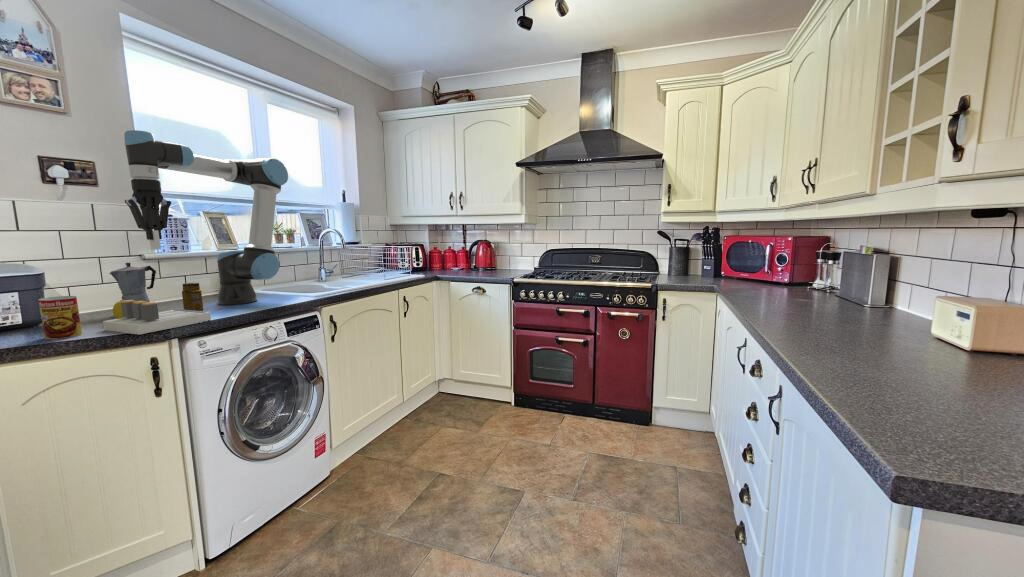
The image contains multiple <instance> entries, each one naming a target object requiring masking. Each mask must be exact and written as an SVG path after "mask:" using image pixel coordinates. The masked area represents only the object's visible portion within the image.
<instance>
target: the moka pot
mask: <svg viewBox="0 0 1024 577" xmlns="http://www.w3.org/2000/svg"><path fill="white" fill-rule="evenodd" d="M131 263H132V262H125V263H124V264H125V266H126V267H121V268H118V269H115V270H111V271H110V272H108V274H109V275H111V276H112V277H113V279H114V280H115V281H116V282H117V285H118V288H119V290H120V292H121V300H124V301H125V300H135V301H146V302H151V301H150V298H149V295H148V293H147V290H151V289H154V285H155V278H156V273H157V270H156V269H155V268H153V267H152V266H150V265H146V266H141V267H137V266H131V265H132V264H131ZM148 271H151V277H150V278H151V279H150V284H149V286H147V284H146V281H147V280H146V272H148Z"/></svg>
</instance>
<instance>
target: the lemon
mask: <svg viewBox="0 0 1024 577" xmlns="http://www.w3.org/2000/svg"><path fill="white" fill-rule="evenodd" d="M122 301H124V300H122V299H120V300H118V301H117V302H116V303H115V304H113V306H112V314H113V316H114V319H120V318H125V317H123V315H122V308H121V302H122Z"/></svg>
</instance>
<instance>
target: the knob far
mask: <svg viewBox="0 0 1024 577" xmlns="http://www.w3.org/2000/svg"><path fill="white" fill-rule="evenodd" d="M133 302H136V301H135V300H125V301H122V302H121V308H122V315H123V317H125V318H130V317H134V316H133V309H132V303H133Z"/></svg>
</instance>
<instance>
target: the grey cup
mask: <svg viewBox="0 0 1024 577" xmlns="http://www.w3.org/2000/svg"><path fill="white" fill-rule="evenodd" d="M142 303H147V302H146V301H136V302H133V303H132V309H133V316H134V319H142V313H141V306H140V305H142Z"/></svg>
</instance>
